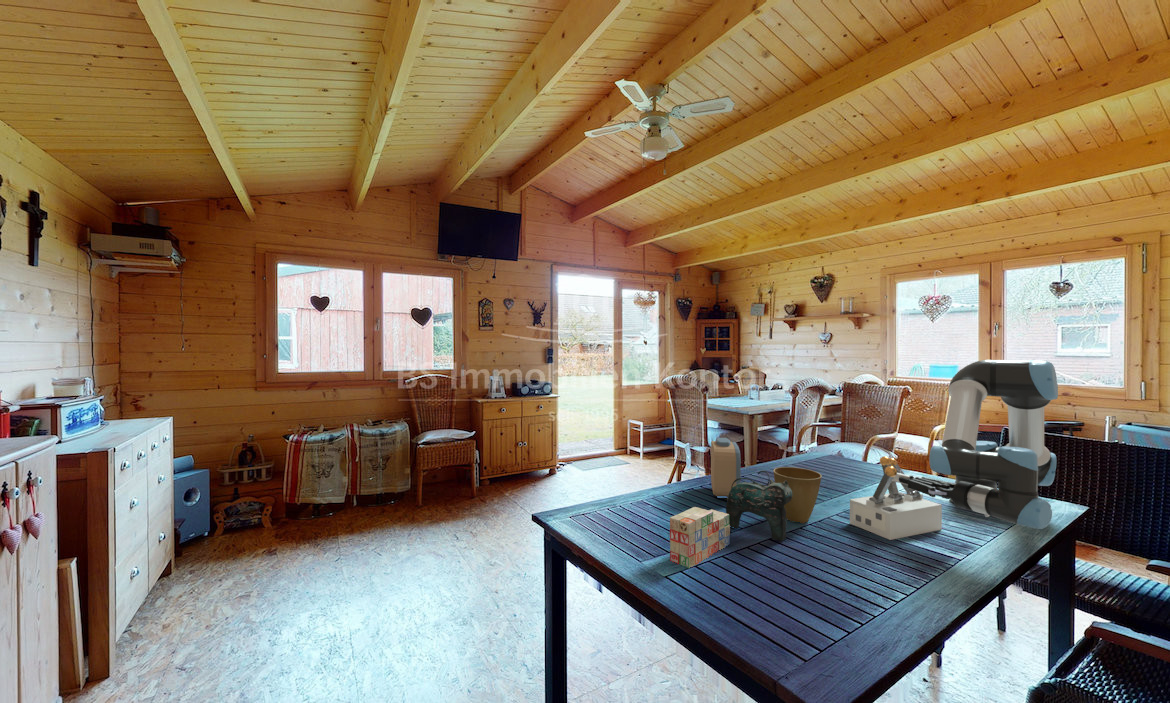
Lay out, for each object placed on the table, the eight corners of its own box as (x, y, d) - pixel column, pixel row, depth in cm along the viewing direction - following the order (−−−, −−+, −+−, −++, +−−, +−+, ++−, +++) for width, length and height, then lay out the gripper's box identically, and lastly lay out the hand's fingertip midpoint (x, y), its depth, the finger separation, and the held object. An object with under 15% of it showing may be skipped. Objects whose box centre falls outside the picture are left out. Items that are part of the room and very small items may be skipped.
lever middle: (895, 500, 153) (883, 456, 157) (904, 500, 150) (892, 455, 154) (887, 501, 152) (876, 457, 156) (896, 501, 149) (884, 456, 153)
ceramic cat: (793, 539, 142) (793, 473, 141) (785, 545, 137) (785, 478, 137) (731, 522, 155) (731, 462, 155) (722, 528, 150) (722, 466, 150)
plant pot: (773, 523, 154) (773, 475, 154) (773, 509, 168) (773, 465, 167) (823, 530, 148) (823, 480, 148) (819, 514, 162) (819, 469, 162)
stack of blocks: (711, 539, 142) (711, 499, 142) (730, 545, 137) (730, 504, 137) (669, 561, 127) (669, 516, 127) (688, 569, 123) (688, 522, 123)
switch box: (898, 514, 162) (899, 487, 162) (941, 529, 149) (941, 499, 149) (848, 523, 154) (848, 494, 154) (889, 540, 141) (889, 508, 141)
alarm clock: (740, 503, 174) (740, 445, 174) (714, 501, 176) (714, 444, 176) (734, 487, 194) (734, 435, 194) (710, 486, 196) (711, 434, 196)
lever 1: (874, 498, 151) (892, 463, 145) (882, 505, 148) (901, 470, 142) (866, 500, 150) (884, 464, 144) (875, 507, 147) (893, 471, 141)
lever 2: (915, 499, 155) (889, 460, 164) (922, 495, 153) (895, 456, 162) (908, 500, 154) (882, 461, 163) (915, 496, 152) (888, 456, 160)
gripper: (959, 514, 127) (878, 489, 149) (989, 508, 132) (905, 485, 154) (960, 486, 127) (878, 466, 149) (989, 481, 132) (905, 462, 154)
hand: (892, 476), depth 152 cm, fingers closed
